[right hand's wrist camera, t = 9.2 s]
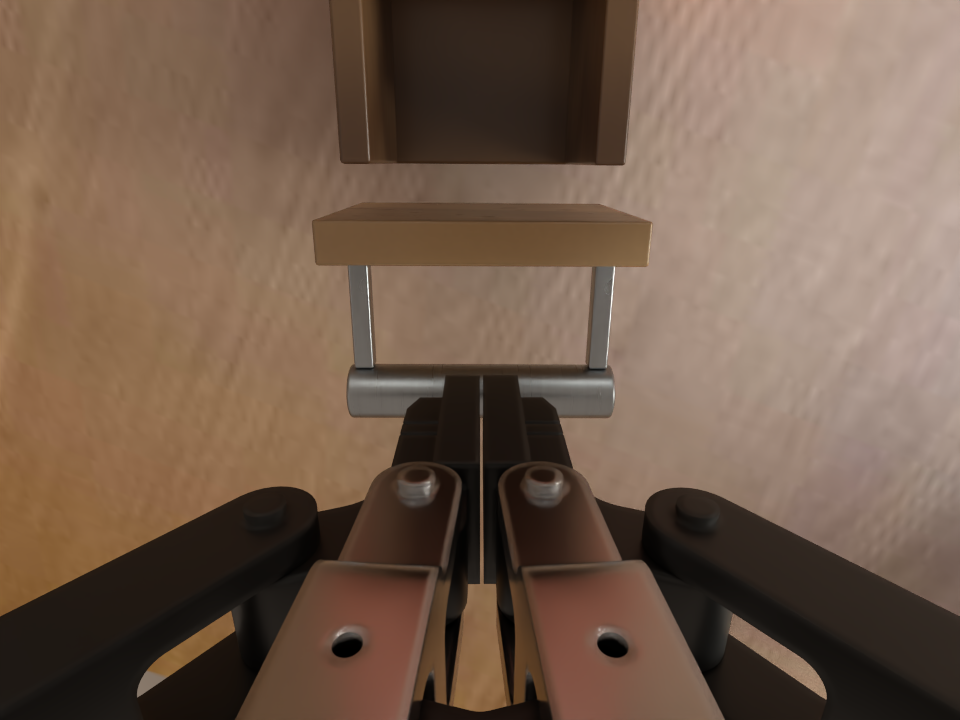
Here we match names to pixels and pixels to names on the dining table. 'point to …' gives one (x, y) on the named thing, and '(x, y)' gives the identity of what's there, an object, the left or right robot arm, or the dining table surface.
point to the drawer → (482, 140)
